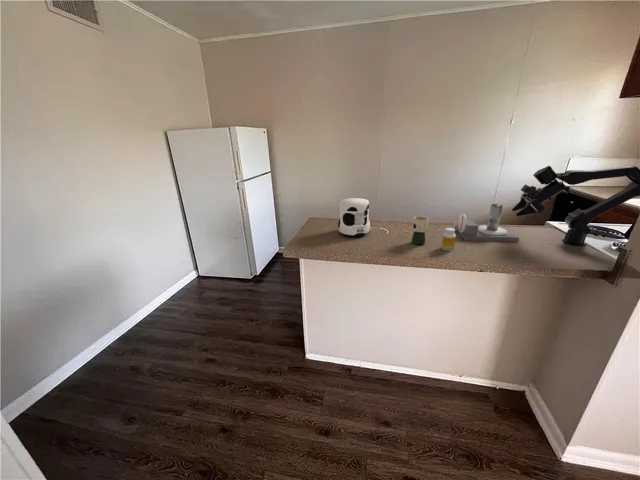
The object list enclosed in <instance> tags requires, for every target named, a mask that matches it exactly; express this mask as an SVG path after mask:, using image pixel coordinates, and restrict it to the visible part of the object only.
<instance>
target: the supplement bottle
mask: <svg viewBox="0 0 640 480" xmlns="http://www.w3.org/2000/svg"><path fill="white" fill-rule="evenodd" d="M455 232H456V229H455V228H453V227H446V228H445V231H444V233H442V240H441V245H440V246H441V247H440V248H441V249H442V250H443V251H447V252H448V251H453V250H454V249H455V243H456V237H457V235H456V233H455Z"/></svg>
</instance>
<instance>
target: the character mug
mask: <svg viewBox="0 0 640 480" xmlns="http://www.w3.org/2000/svg"><path fill="white" fill-rule="evenodd" d="M429 220H430V218H429V217H427V216H423V215H415V216H413V217H412V225H411V230H412V232H413V231H414V232H413V234H412V237H411V243H412V244H414V245H423V244H426V232H427V231H428V228H429Z"/></svg>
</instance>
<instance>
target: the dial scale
mask: <svg viewBox="0 0 640 480" xmlns="http://www.w3.org/2000/svg"><path fill="white" fill-rule="evenodd" d="M486 228H487V224H486V225H485V224H484V225H478V224H477V223H476V222H475V221H474V220H472V219H471V218H470V217H467V216H466V214H465V213H461V214H459V217H458V220H457V224H455V226H454V229H455V231H456V232H457V233H458V234H459V233H460V234H459V235H460V236H461V235H462V236H461V237H462V238H463V239H464V240H465V241H483V242H484V241H485V242H489V241H491V242H519V240H520V237H519V236H517V235H516V234H515V233H513V232H512V231H510V230H508V229H507V228H505V227H504V226H502V225H499V226H498V230H497V231H489V230H486Z"/></svg>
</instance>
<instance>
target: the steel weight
mask: <svg viewBox="0 0 640 480" xmlns="http://www.w3.org/2000/svg"><path fill="white" fill-rule="evenodd" d="M503 209H504V205H503V204H499V203H492V204H491V205H490V210H489V214H488V219H487V224H486V225H487V228H486V230H489V231H497V230H498V226H500V221H501V217H502V212H503Z"/></svg>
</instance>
